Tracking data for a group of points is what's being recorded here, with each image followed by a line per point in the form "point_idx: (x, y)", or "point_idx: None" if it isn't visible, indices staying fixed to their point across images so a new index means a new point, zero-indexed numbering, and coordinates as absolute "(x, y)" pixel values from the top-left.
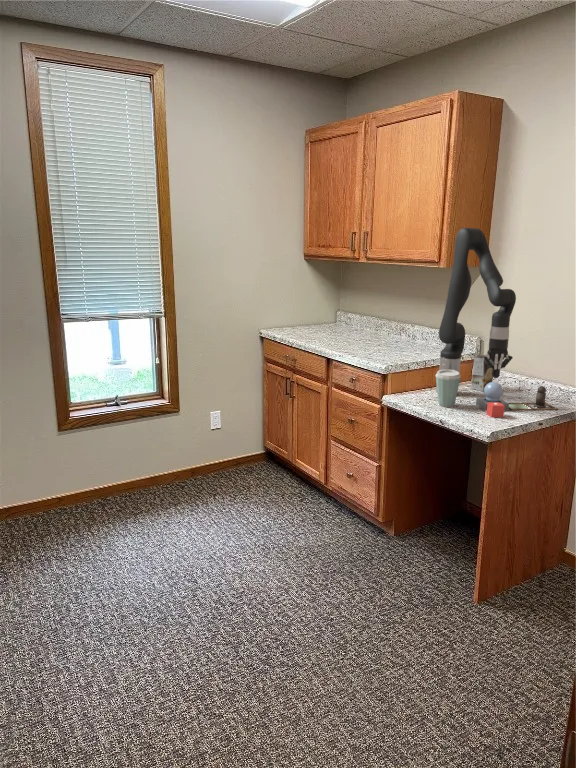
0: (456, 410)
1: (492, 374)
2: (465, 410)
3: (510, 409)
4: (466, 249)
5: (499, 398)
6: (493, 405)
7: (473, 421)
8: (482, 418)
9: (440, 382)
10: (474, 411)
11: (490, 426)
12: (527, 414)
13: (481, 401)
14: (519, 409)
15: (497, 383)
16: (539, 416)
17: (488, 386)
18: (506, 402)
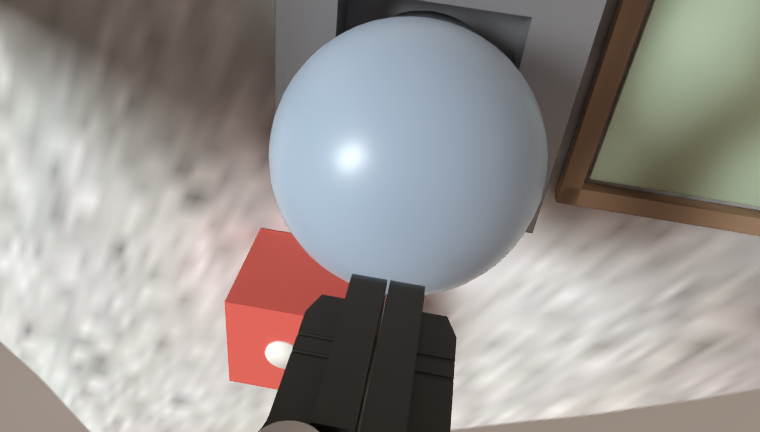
0: (16, 82)
1: (308, 336)
2: (104, 99)
3: (558, 192)
4: None
5: (592, 11)
6: (240, 375)
7: (101, 332)
8: (185, 300)
9: None
10: (182, 143)
11: (181, 414)
12: (620, 306)
13: (276, 76)
14: (649, 214)
15: (422, 276)
16: (675, 361)
17: (284, 216)
18: (544, 186)
